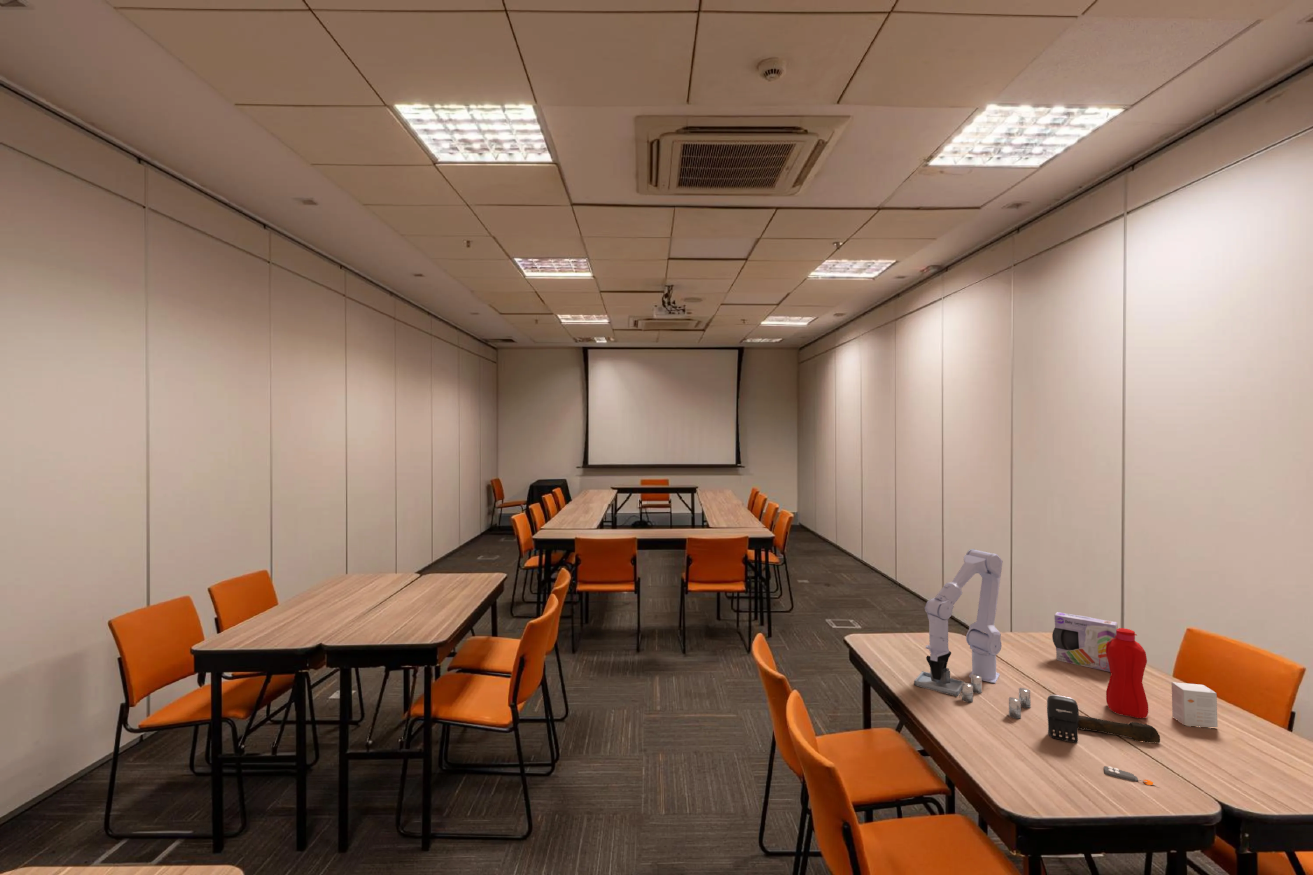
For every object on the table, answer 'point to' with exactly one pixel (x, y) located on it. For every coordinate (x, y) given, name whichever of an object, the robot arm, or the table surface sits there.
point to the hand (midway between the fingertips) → (939, 675)
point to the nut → (942, 676)
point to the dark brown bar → (1121, 729)
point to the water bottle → (1126, 675)
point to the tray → (939, 684)
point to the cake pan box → (1082, 640)
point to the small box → (1194, 705)
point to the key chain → (1123, 775)
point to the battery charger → (1062, 718)
